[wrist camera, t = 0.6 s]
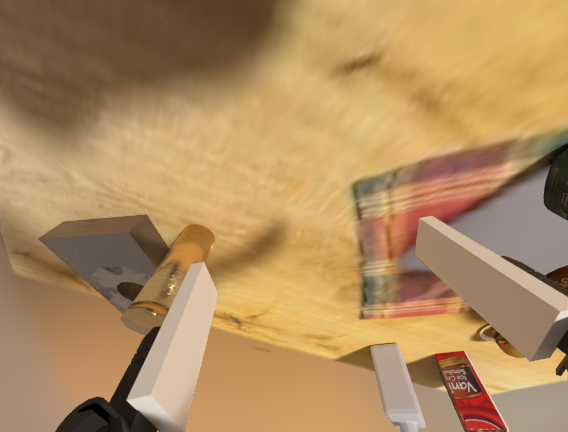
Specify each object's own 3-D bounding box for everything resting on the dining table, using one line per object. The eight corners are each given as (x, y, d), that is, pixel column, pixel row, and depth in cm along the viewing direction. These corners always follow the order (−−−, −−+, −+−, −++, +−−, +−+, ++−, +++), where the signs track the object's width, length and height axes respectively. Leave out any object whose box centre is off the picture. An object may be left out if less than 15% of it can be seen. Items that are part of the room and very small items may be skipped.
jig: (63, 221, 34) (38, 238, 31) (146, 214, 32) (128, 232, 28) (138, 299, 47) (126, 317, 43) (201, 298, 44) (193, 316, 41)
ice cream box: (468, 378, 60) (504, 448, 49) (442, 380, 62) (471, 447, 51) (465, 350, 50) (509, 429, 39) (434, 353, 52) (468, 429, 41)
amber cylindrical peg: (177, 225, 32) (110, 312, 21) (208, 222, 32) (156, 312, 20) (190, 248, 35) (138, 336, 24) (219, 247, 35) (180, 337, 23)
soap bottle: (404, 361, 56) (456, 514, 37) (378, 363, 58) (414, 509, 39) (397, 341, 49) (454, 513, 31) (368, 344, 52) (405, 507, 33)
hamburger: (499, 305, 39) (524, 336, 35) (556, 317, 40) (586, 348, 36) (454, 333, 47) (470, 361, 42) (503, 342, 47) (523, 371, 43)
